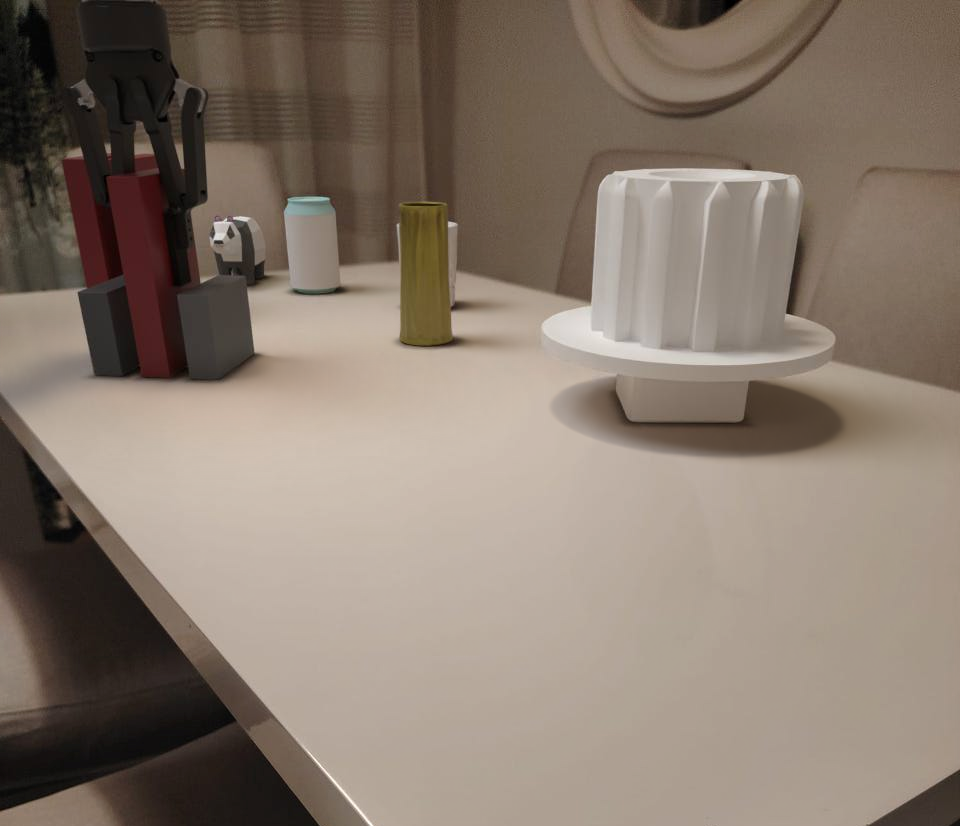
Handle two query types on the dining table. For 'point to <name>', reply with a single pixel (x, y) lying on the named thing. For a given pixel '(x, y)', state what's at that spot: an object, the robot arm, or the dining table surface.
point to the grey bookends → (204, 317)
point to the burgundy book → (150, 271)
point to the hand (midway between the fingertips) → (164, 282)
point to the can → (312, 245)
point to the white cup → (451, 256)
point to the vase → (424, 274)
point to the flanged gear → (692, 292)
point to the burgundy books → (96, 220)
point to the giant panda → (238, 247)
